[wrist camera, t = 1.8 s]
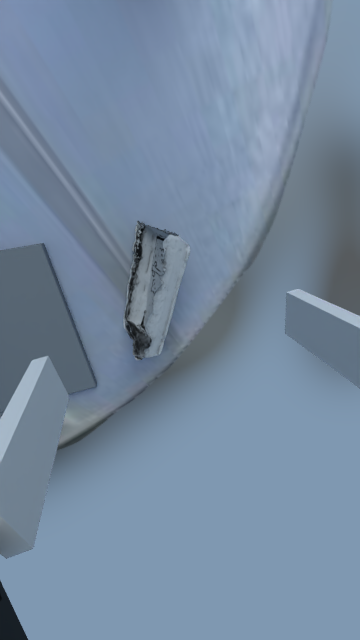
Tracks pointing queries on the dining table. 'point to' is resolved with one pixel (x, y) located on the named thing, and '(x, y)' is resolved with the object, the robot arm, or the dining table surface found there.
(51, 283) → the mat
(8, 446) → the robot arm
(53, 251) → the dining table surface
